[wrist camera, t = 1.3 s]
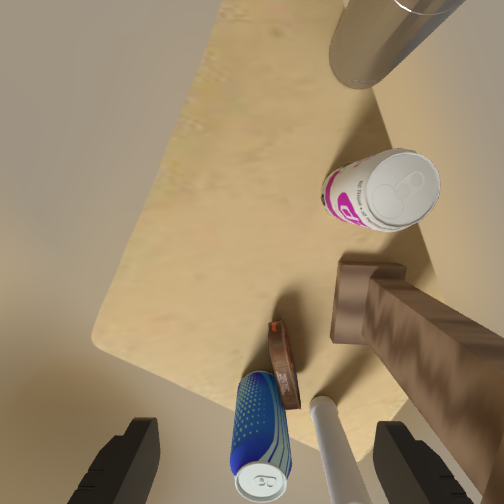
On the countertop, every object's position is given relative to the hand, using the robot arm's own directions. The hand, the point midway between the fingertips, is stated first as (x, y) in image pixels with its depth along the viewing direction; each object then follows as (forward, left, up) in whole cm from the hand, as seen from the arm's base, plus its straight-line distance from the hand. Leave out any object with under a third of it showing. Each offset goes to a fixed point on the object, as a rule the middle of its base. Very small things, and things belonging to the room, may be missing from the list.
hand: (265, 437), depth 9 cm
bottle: (+31, +13, -32) cm, 46 cm away
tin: (+18, +5, -32) cm, 37 cm away
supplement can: (-9, +13, -32) cm, 36 cm away
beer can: (+27, +1, -32) cm, 42 cm away
